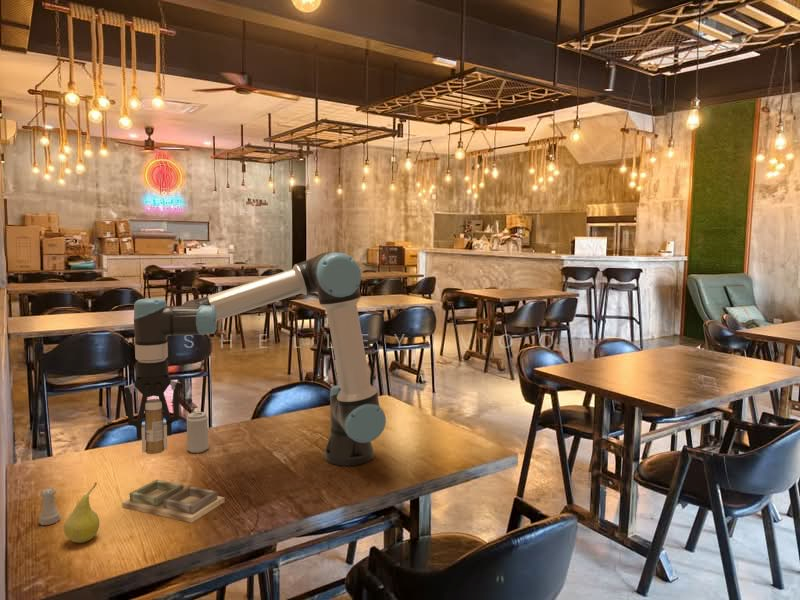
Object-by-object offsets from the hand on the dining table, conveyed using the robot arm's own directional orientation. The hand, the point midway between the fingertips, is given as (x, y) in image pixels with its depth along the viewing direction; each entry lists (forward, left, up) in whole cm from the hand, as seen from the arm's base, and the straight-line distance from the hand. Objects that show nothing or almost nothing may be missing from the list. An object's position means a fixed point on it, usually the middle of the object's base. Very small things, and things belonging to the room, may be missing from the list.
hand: (155, 449), depth 144 cm
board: (-6, 0, -14) cm, 15 cm away
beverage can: (+15, -33, -14) cm, 39 cm away
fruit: (0, +21, -14) cm, 25 cm away
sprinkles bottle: (0, 0, -1) cm, 1 cm away
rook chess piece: (+15, +18, -14) cm, 27 cm away
